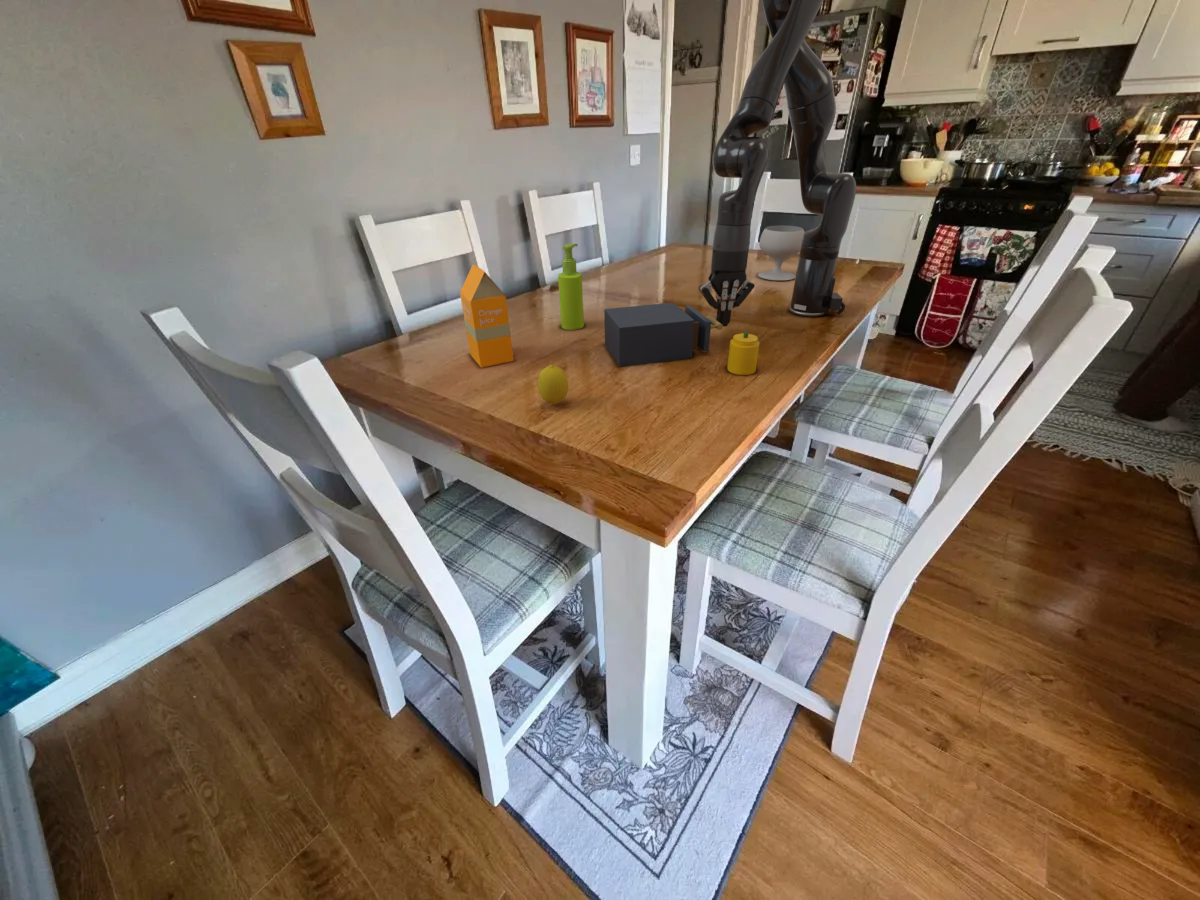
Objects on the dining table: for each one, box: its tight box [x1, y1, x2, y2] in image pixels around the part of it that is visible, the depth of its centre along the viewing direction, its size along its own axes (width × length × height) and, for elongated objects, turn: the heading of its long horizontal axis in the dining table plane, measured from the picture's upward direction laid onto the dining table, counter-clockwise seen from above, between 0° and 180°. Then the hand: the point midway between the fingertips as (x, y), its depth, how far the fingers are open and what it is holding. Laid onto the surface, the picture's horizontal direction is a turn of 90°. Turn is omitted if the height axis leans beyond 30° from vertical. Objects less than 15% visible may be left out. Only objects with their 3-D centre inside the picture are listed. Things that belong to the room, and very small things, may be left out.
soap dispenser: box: [557, 243, 585, 331], centre depth 129 cm, size 6×7×20 cm
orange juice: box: [459, 263, 514, 368], centre depth 111 cm, size 8×9×20 cm
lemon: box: [537, 364, 569, 406], centre depth 94 cm, size 6×6×8 cm
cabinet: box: [603, 302, 695, 367], centre depth 115 cm, size 17×14×9 cm
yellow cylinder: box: [726, 331, 761, 376], centre depth 105 cm, size 6×6×8 cm
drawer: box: [679, 305, 724, 353], centre depth 117 cm, size 20×12×7 cm, turn 103°
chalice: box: [757, 225, 805, 281], centre depth 167 cm, size 14×14×15 cm
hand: (722, 325), depth 118 cm, fingers closed
